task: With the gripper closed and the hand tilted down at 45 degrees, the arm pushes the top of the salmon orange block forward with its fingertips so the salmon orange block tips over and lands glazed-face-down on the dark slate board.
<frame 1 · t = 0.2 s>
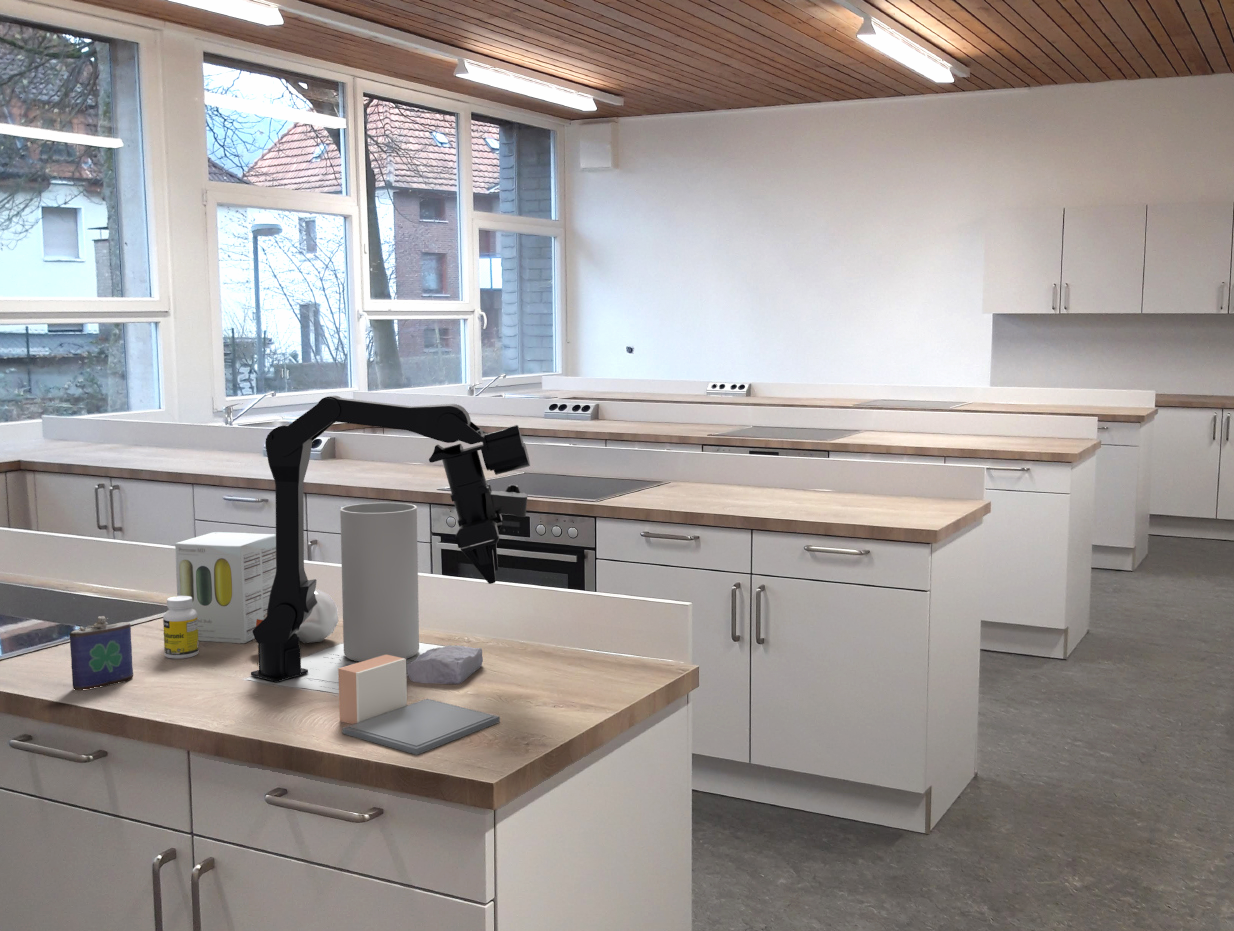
hand: (493, 576, 185), 15 cm above the counter, tool pointing down, fingers open, 9 cm apart
flask: (103, 685, 180), on the counter
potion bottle: (300, 646, 203), on the counter
stone block: (443, 675, 187), on the counter
supplement bottle: (181, 656, 197), on the counter
cylinder vase: (381, 655, 197), on the counter
slate board: (422, 727, 160), on the counter
salmon orange block: (373, 715, 165), on the counter
supplement box: (230, 634, 212), on the counter
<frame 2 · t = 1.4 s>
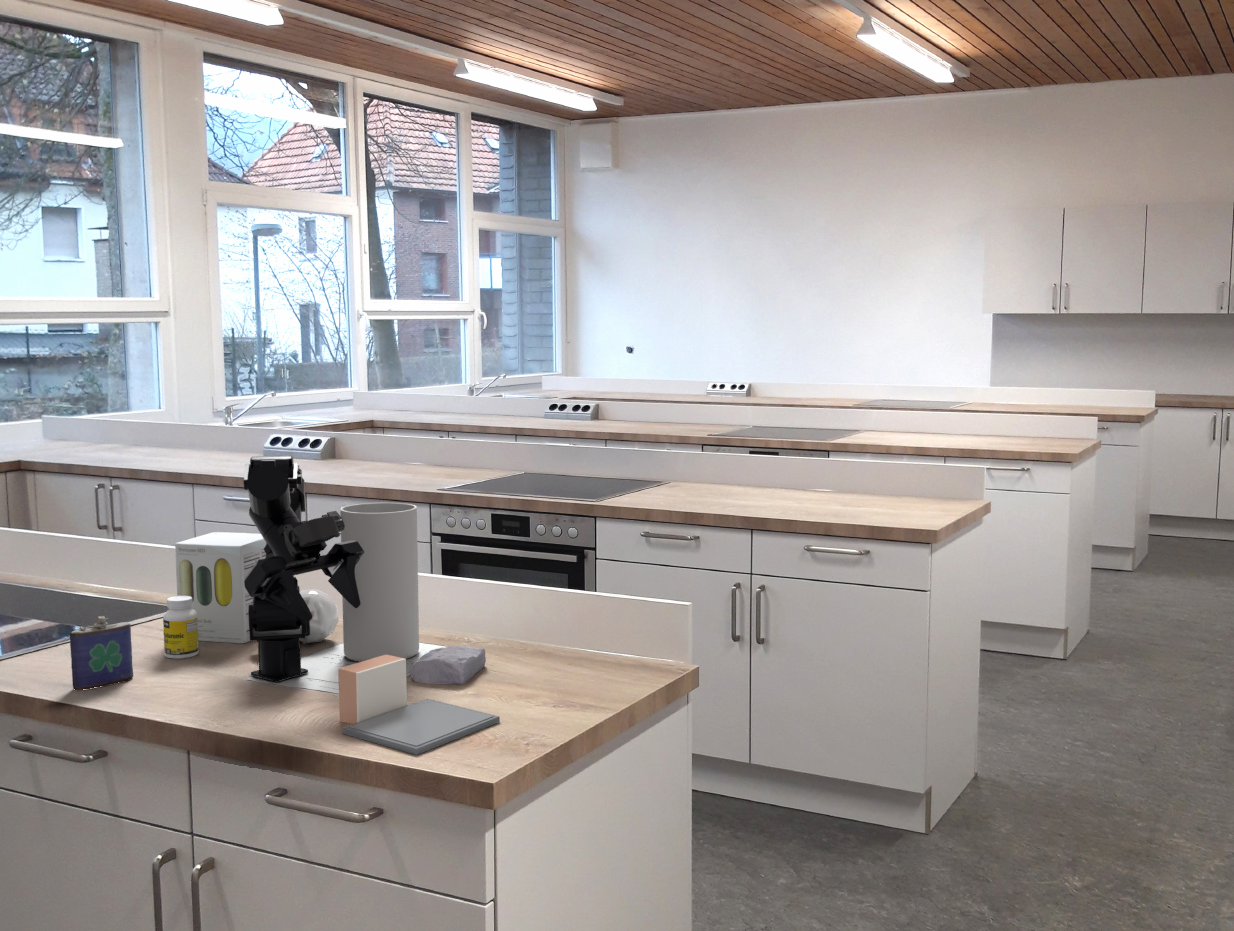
hand: (334, 612, 169), 13 cm above the counter, tool tilted 45°, fingers open, 9 cm apart
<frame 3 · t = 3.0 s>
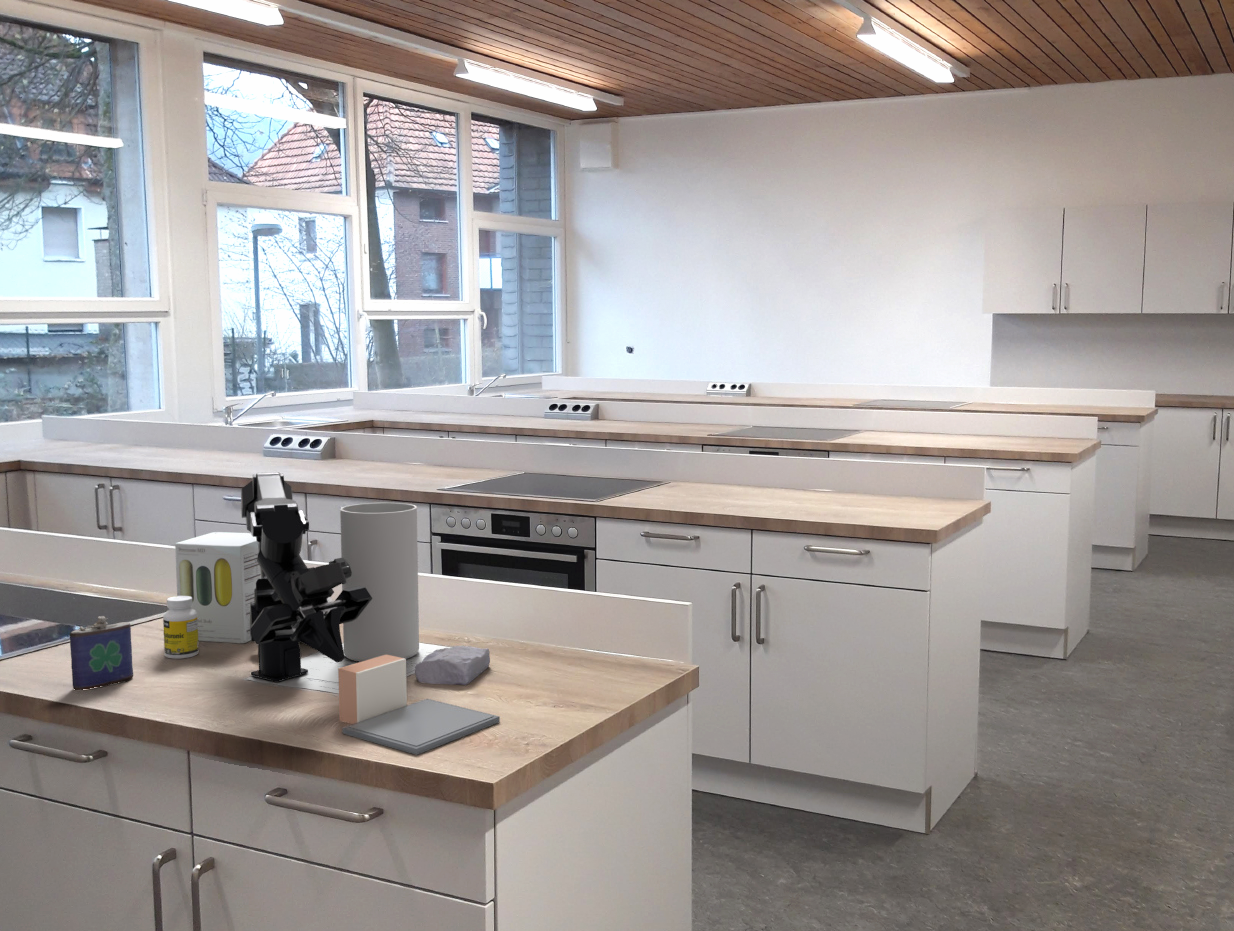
hand: (341, 660, 169), 7 cm above the counter, tool tilted 45°, fingers closed
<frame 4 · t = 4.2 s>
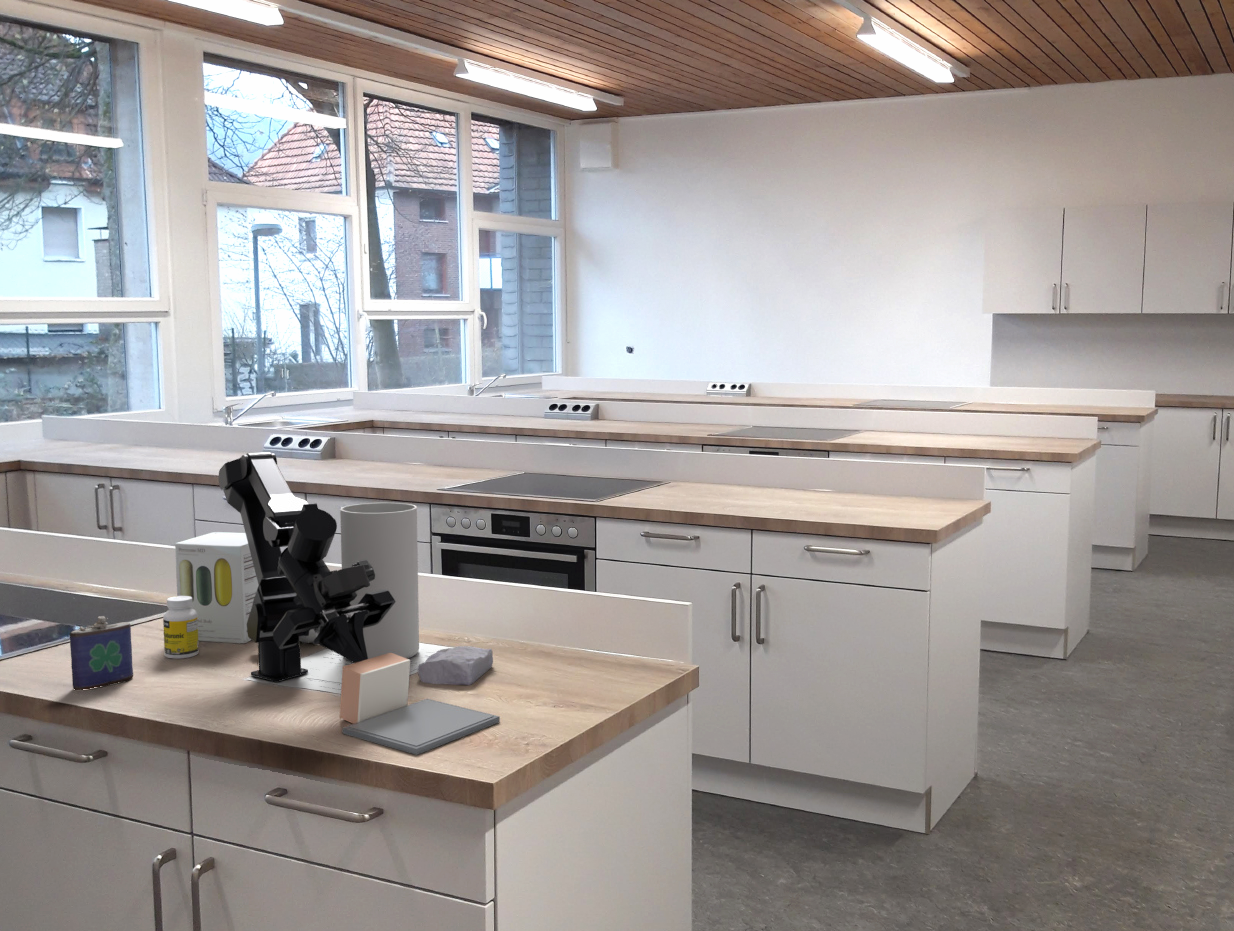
hand: (365, 664, 165), 7 cm above the counter, tool tilted 45°, fingers closed, pressing on salmon orange block
salmon orange block: (373, 713, 165), on the counter, tilted 7°, touching gripper
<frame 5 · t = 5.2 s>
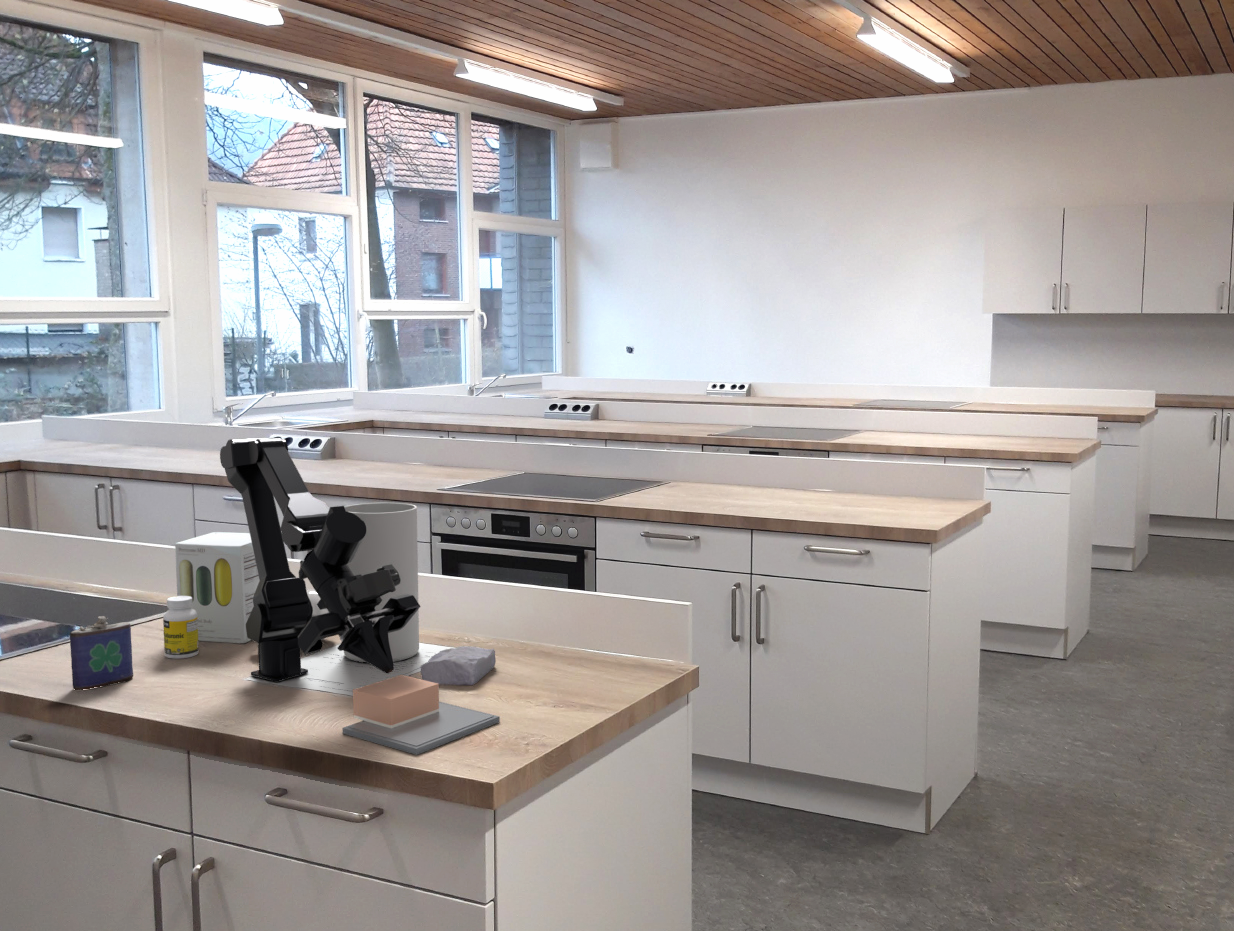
hand: (390, 671, 163), 7 cm above the counter, tool tilted 45°, fingers closed
salmon orange block: (378, 695, 165), point 3 cm above the counter, tilted 90°, touching slate board
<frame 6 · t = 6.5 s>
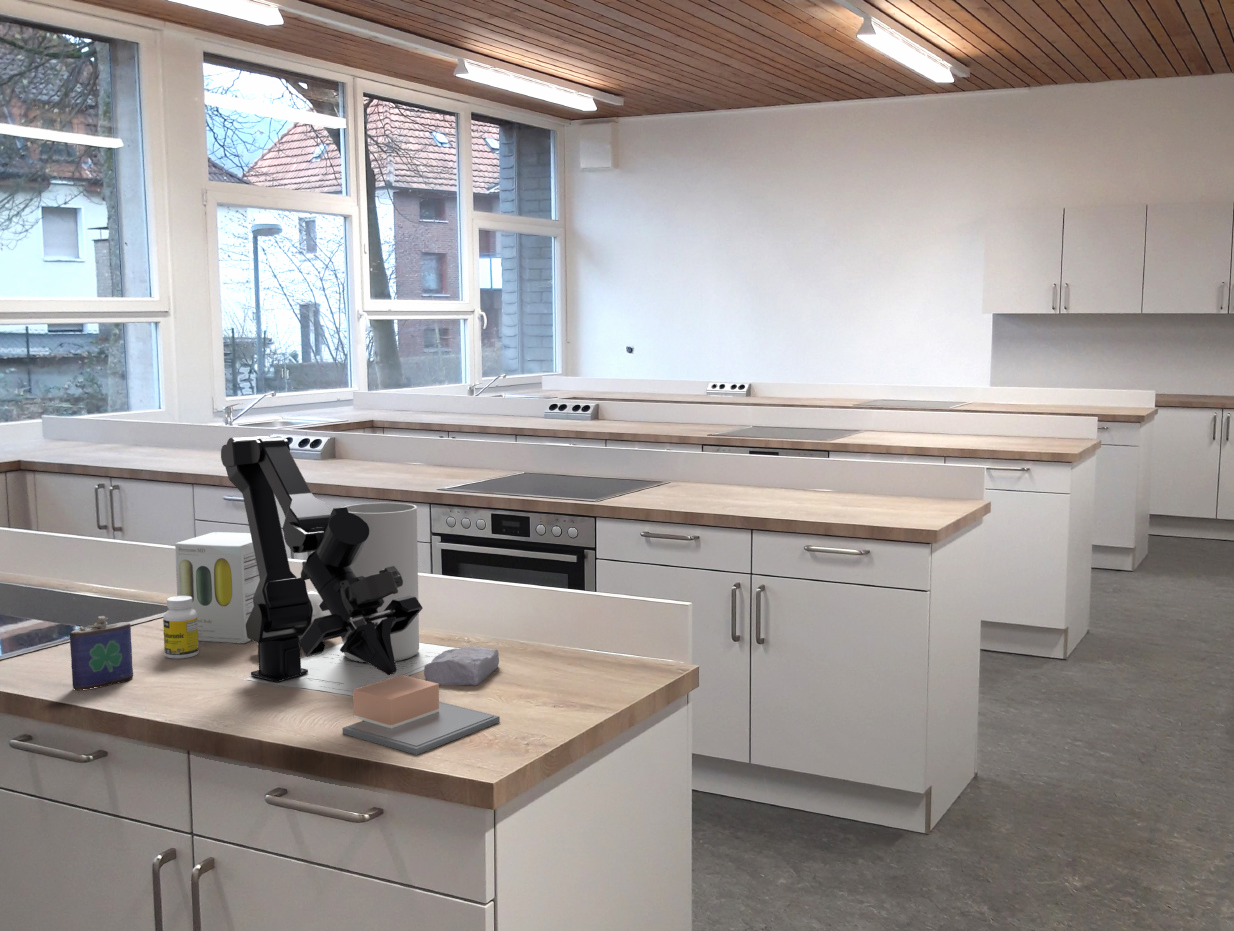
hand: (393, 673, 162), 7 cm above the counter, tool tilted 45°, fingers closed
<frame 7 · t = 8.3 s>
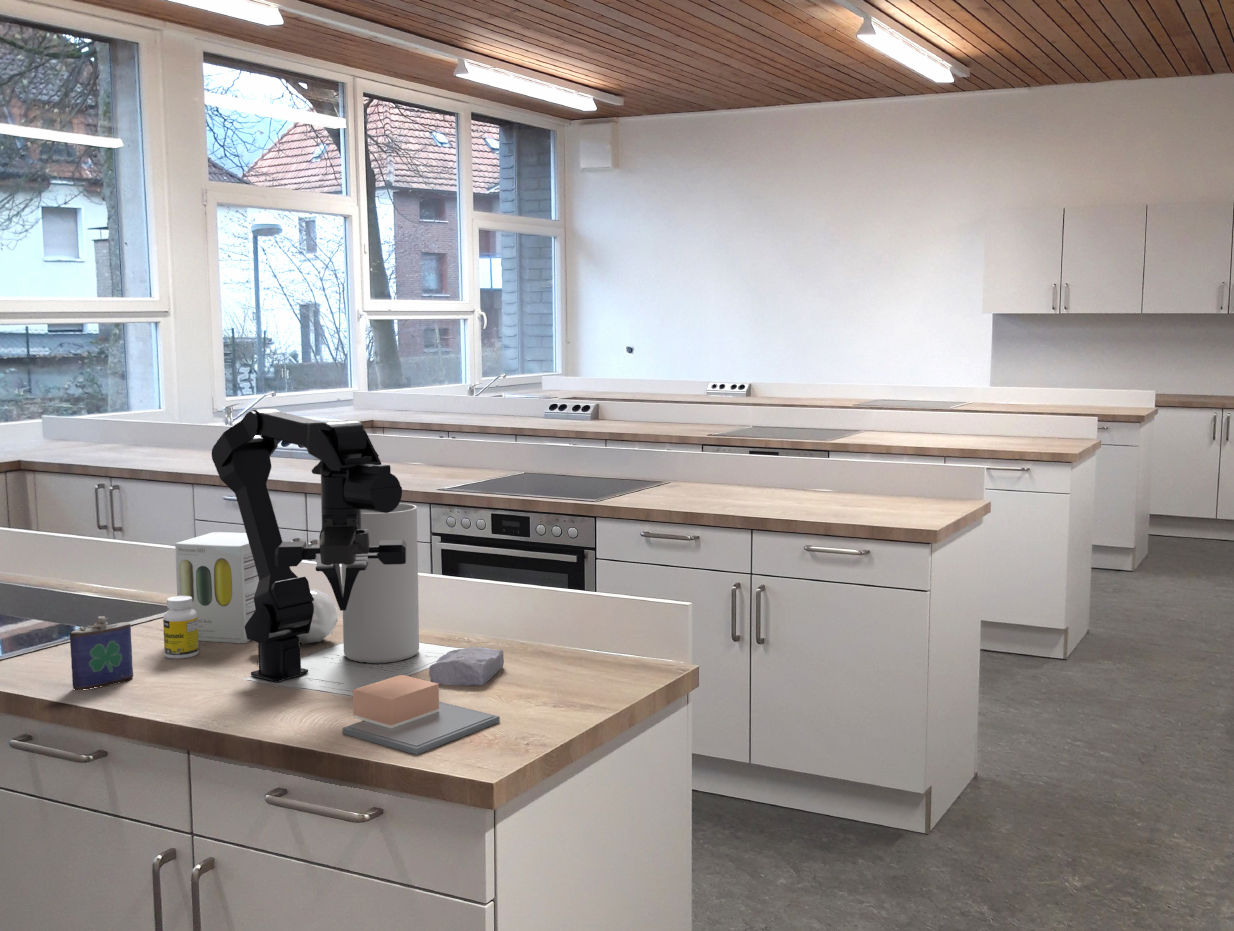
hand: (343, 610, 174), 13 cm above the counter, tool pointing down, fingers closed
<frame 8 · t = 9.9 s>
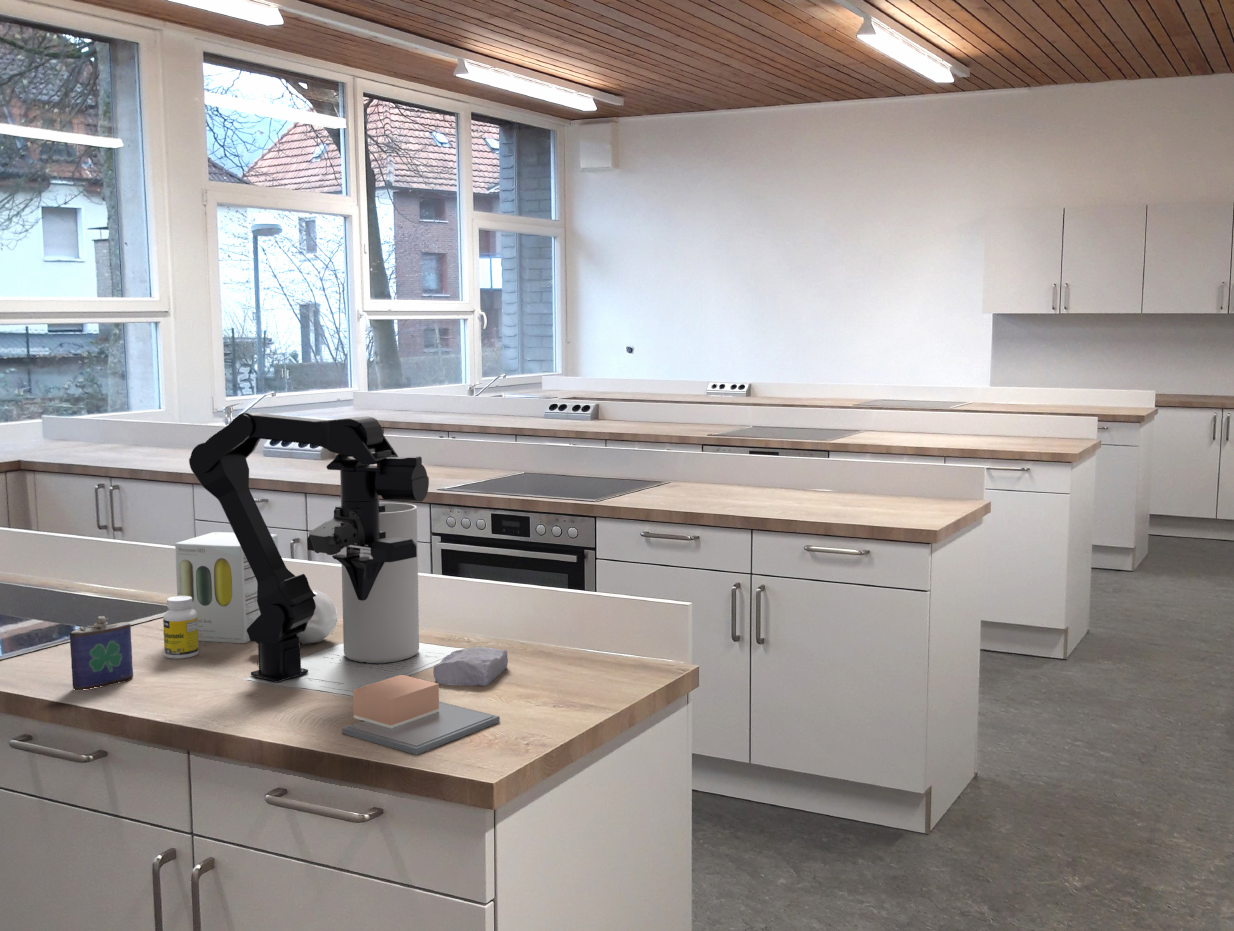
hand: (362, 600, 180), 13 cm above the counter, tool pointing down, fingers closed
at the end: salmon orange block tilted 90°; salmon orange block inside the target area (8.1 cm from its centre), point 2.9 cm above the counter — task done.
